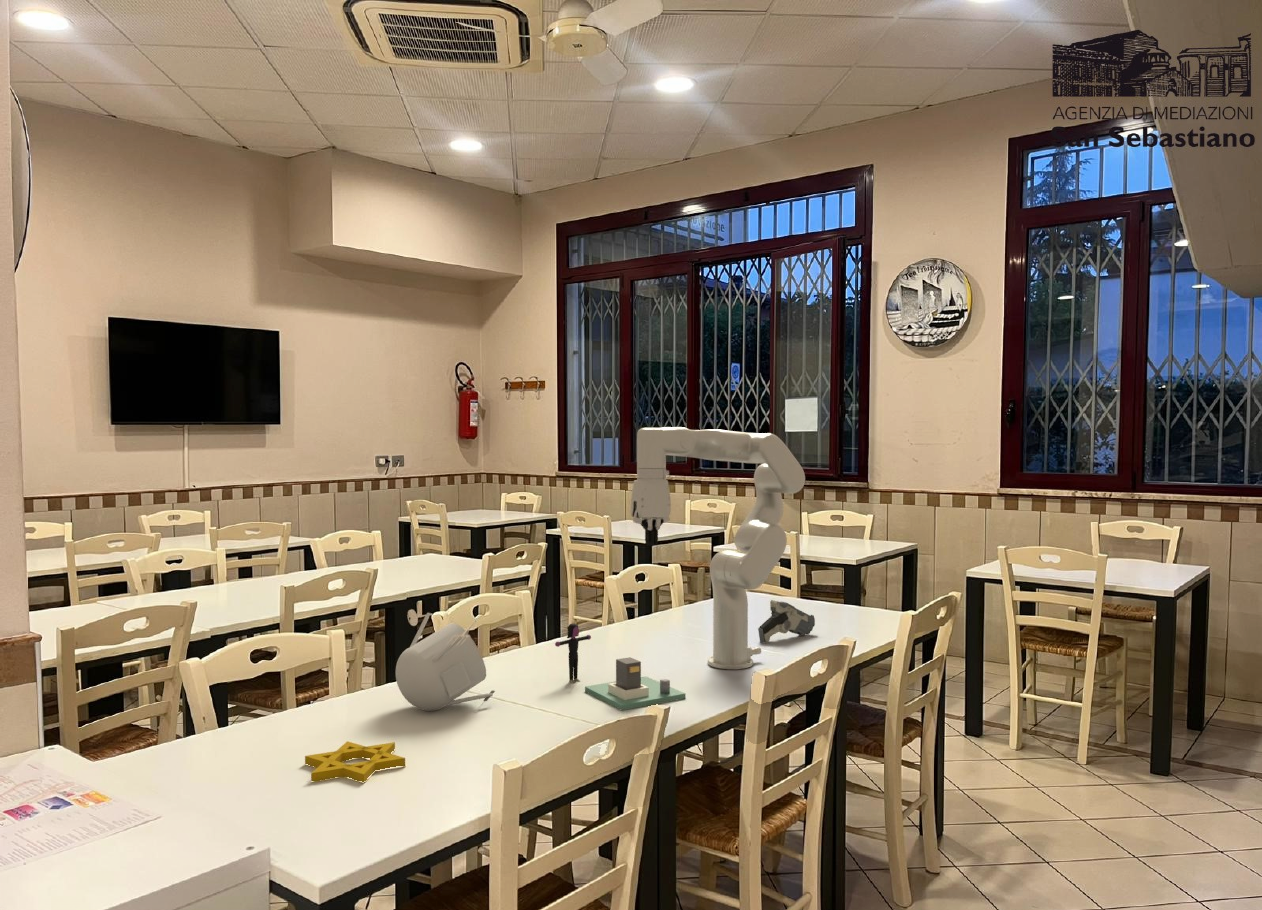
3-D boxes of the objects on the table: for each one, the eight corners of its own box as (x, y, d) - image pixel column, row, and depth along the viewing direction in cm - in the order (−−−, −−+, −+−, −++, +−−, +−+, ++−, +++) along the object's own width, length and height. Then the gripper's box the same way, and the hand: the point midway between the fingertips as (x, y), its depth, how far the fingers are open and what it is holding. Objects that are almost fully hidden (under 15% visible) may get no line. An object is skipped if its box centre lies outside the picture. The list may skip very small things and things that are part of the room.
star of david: (419, 753, 184) (418, 741, 184) (390, 786, 166) (390, 774, 166) (323, 751, 185) (323, 740, 185) (285, 784, 168) (284, 772, 168)
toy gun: (804, 662, 285) (819, 617, 289) (760, 641, 275) (776, 594, 278) (795, 659, 288) (811, 615, 292) (752, 638, 278) (768, 593, 281)
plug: (630, 689, 223) (630, 657, 223) (642, 695, 218) (642, 662, 218) (616, 691, 221) (616, 659, 220) (627, 697, 216) (627, 664, 216)
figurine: (560, 686, 230) (560, 628, 229) (551, 683, 232) (550, 625, 232) (595, 677, 238) (595, 620, 238) (585, 674, 241) (585, 618, 241)
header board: (646, 680, 235) (646, 664, 235) (685, 698, 220) (685, 681, 220) (585, 691, 226) (584, 674, 226) (621, 710, 210) (621, 692, 210)
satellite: (363, 635, 213) (410, 665, 194) (435, 594, 224) (486, 618, 204) (396, 714, 220) (445, 750, 201) (464, 671, 231) (516, 701, 212)
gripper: (667, 473, 244) (667, 541, 245) (619, 475, 236) (619, 545, 237) (683, 474, 238) (683, 544, 238) (634, 476, 230) (634, 548, 230)
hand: (651, 544), depth 238 cm, fingers closed
